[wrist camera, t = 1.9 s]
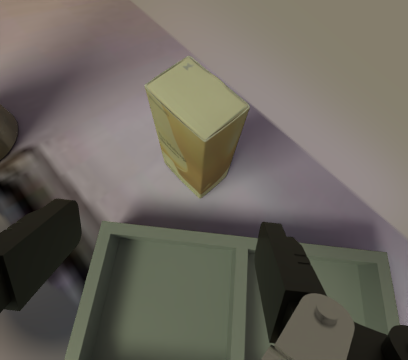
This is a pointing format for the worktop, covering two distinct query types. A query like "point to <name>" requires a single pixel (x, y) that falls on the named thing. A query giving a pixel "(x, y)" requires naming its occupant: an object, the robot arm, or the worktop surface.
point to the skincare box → (196, 123)
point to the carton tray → (204, 295)
